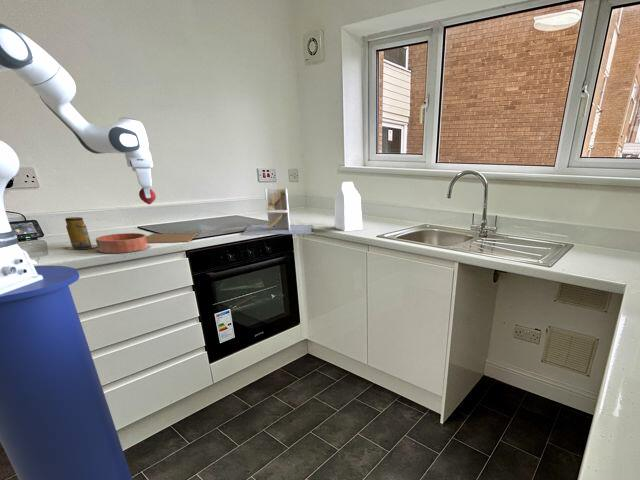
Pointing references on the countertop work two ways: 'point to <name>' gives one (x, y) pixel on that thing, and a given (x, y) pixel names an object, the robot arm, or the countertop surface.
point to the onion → (147, 200)
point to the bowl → (122, 242)
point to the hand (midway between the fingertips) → (147, 197)
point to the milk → (348, 208)
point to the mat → (170, 237)
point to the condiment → (78, 233)
